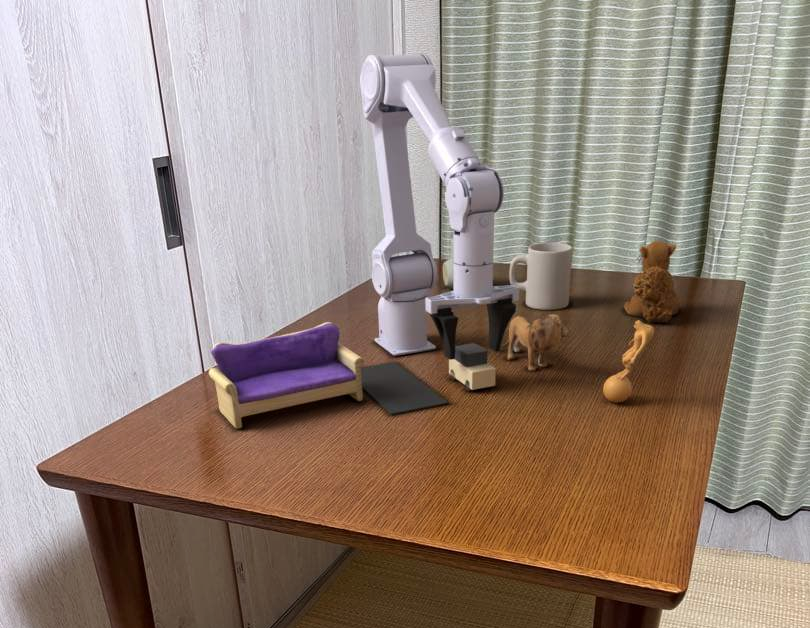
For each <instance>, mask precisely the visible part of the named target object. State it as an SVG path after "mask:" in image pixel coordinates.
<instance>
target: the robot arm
mask: <svg viewBox="0 0 810 628" xmlns="http://www.w3.org/2000/svg"><path fill="white" fill-rule="evenodd" d="M436 83H437V73H436V69H435V67H434V64H433V62H432V60H431V58H430V56H429V55H428V54H427V53H426V52H419V53H418V52H417V53H416V54H414V53H413V54H390V55H389V54H388V55H387V54H386V55H376V54H369V55H368V56H367V57H366V58H365V60H364V62H363V65H362V67H361V71H360V75H359V85H360V94H361V102H362V109H363V114H364V119H365V120H366V121H368V122H369V123H371V126H372V135H373V143H374V150H375V151H374V152H375V160H376V167H377V175H378V183H379V192H380V200H381V208H382V217H383V224H384V233H385V236H384V237H383V238H382V239H381V241H380V242H379V243H378V244H377V245H376V246H375V247H374V249H373V250H372V251H371V255H372V256H371V257H372V258H371V259H372V267H371V281H372V285H373V288H374V290H375V292H376V293H377V294H378V295H379V296H380V299H379V300H378V304H377V312H378V314H377V315H378V317H377V318H378V337H375V338H374V342H375V343H376V344H378V345H379V346H381V348H383V349H384V350H386V351H387V352H388V353H389V354H391V355H392V356H395V357H397V356H403V355H410V354H414V353H415V354H416V353H421V352H427V351H432V350H436V349H437V346H436V345H435V344H433V343H432V342H430V341H429V340H428V325H427V323H428V322H427V321H428V320H427V319H428V318H427V317H428V316H427V313H429V317H430V318H431V319H432V322H433V323H434V325H435V328H436V330H437V332H438V335H439V338H440V340H441V345H442V348H443V353H444V357H445V358H447V359H448V360H449V359H450V360H452V359H455V346H456V334H457V326H458V323H459V317H458V316H456V315H454V311H452V310H459V309H463V308H470V307H477V306H486V310H487V317H488V318H487V319H488V347H489V349H490V350H492V351H493V352H495V353H496V352H500V350H501V348H500V346H501V345H502V342H503V338H504V335H505V333H506V330H507V328H508V325H509V324H510V322H511V321H512V319H513V316H514V315H515V313H516V312H517V305H516V304H515V303H514V302H518V301H520V290H519V288H518V287H516V286H514V285H511V284H509V285H498V286H497V285H496V286H494V285H493V283H494V276H493V275H494V249H495V248H494V245H495V243H494V242H495V213H497V212H498V211H500V209H501V208H502V205H503V201H504V197H505V196H504V195H505V191H504V183H503V180H502V177H501V175H500V173H499V171H498V170H497V169H496V168H494V167H489V166H488V164H487V163H482V161H481V159H480V158H479V157H478V154H477V153H476V151H475V150H474V147H473V146H472V144H471V142H470V140H469V139H468V137H467V135H466V133H465V132H464V130H463V129H461V128H460V127H456V126H452V124H451V123H450V120H449V118H448V116H447V113H446V111H445V109H444V107H443V105H442V102H441V100H440V97H439V96H438V93H437V91H436ZM412 118H413V119H414V120H415V122H416V123H417V124H418V126H419V127H420V128H421V131H422V132H423V133H424V135H425V136H426V137H427V139H428V141H429V144H428V148H427V154H428V157H429V158H430V161H431V162H432V165H433V166H434V167H435V169H436V171H437V173H438V175H439V177H440V178H441V179H440V180H442V182H443V184H444V186H445V188H446V189H445V192H444V200H445V205H446V209H447V212H448V215H449V217H448V218H449V226H450V229H451V230H452V231H453V237H452V238H453V261H454V262H453V289H452V290H451V291H448V292H444V293H440V294H438V295H434V296H430V294H431V290H432V289H433V288H434V287H435V285H436V282H437V278H438V269H437V264H436V263H437V262H436V261H435V258H434V256H433V255H434V254H433V251H432V245H431V243H430V242H429V241H428V240H426V239H425V238H424V237H422V236H421V235H420V234H418V233H417V226H416V225H417V224H416V216H415V205H414V198H413V190H412V178H411V171H410V161H409V153H408V143H407V134H406V127H407V124H408V122H409V121H410V119H412ZM408 252H412V253H409V254H403V253H408ZM401 253H402V255H396V254H401ZM393 255H394V256H393ZM395 255H396V256H395ZM427 296H429V297H427Z"/></svg>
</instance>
